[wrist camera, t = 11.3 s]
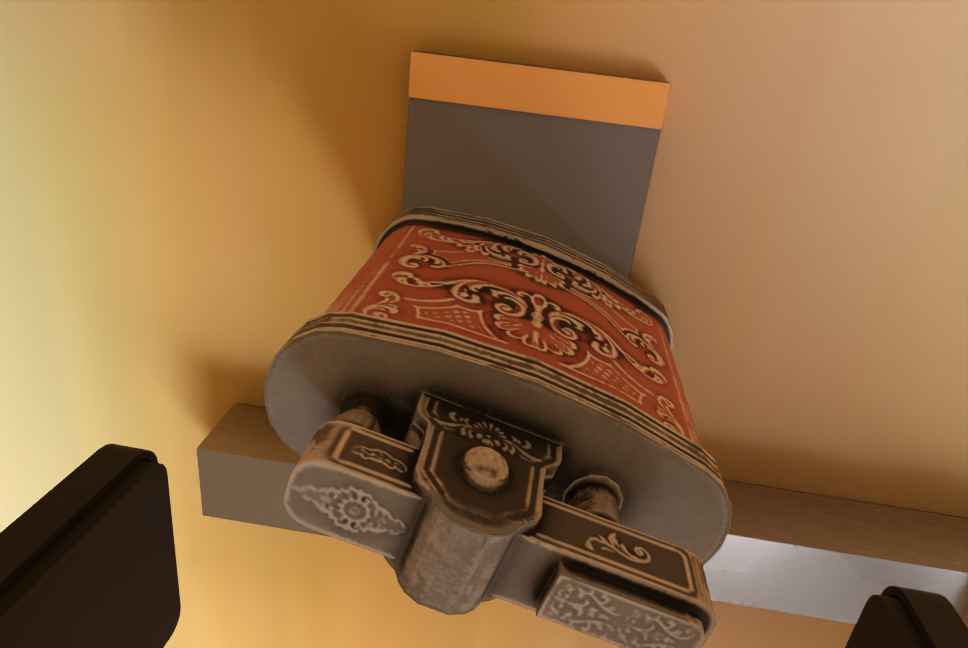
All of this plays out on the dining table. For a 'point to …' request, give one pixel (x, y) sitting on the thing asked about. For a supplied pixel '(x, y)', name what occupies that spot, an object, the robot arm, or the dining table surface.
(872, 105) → the dining table surface
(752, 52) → the dining table surface
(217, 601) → the dining table surface
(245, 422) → the rail
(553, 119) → the marked pad
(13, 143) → the dining table surface
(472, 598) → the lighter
